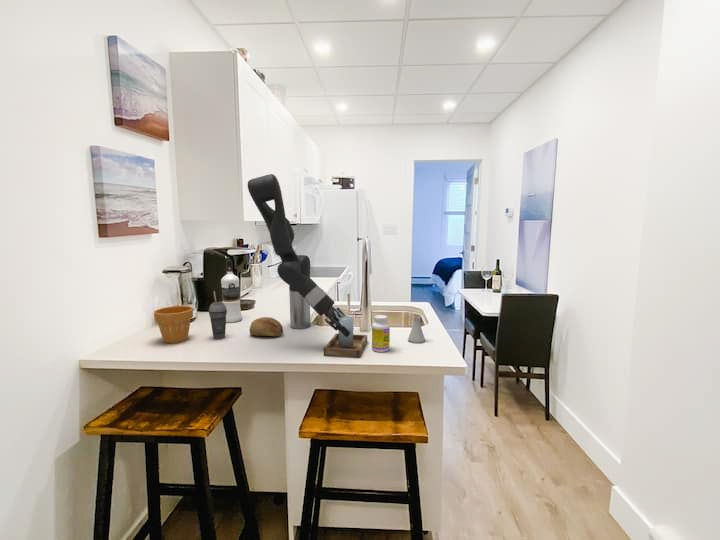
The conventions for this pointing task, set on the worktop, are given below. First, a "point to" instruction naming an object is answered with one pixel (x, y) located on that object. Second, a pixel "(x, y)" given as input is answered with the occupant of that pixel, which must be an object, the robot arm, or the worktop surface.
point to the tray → (345, 347)
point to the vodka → (231, 295)
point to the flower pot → (174, 322)
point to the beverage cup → (218, 318)
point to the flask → (416, 331)
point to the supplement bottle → (380, 334)
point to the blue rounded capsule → (348, 325)
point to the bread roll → (266, 327)
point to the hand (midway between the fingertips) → (350, 332)
